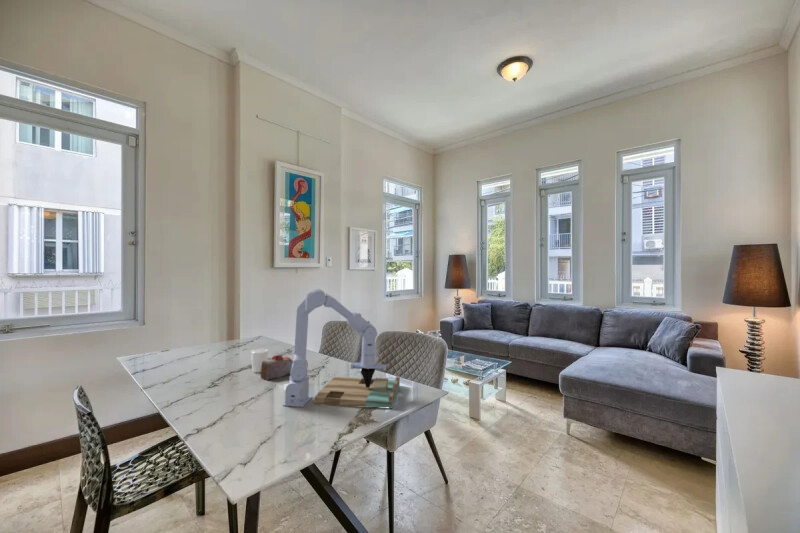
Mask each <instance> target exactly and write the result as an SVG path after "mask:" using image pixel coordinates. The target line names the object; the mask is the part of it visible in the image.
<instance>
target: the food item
mask: <svg viewBox="0 0 800 533" xmlns="http://www.w3.org/2000/svg"><path fill="white" fill-rule="evenodd" d="M293 361H294V359H293V360H292V359H291V357H289V356H288V355H287V356H286V355H285V356H282V355H273V356H272V358H270V359H268V360H265V361H263V362H262V367H261V368H262V369H261V372H260V374H261V375H260V378H261V379H262V380H265V381H269V379H270V380H273V378H274V379H276V378H278V379H279V378H280V377H281V378H282V377H284V376H288V375H290V371H291V368H292V363H293Z"/></svg>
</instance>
